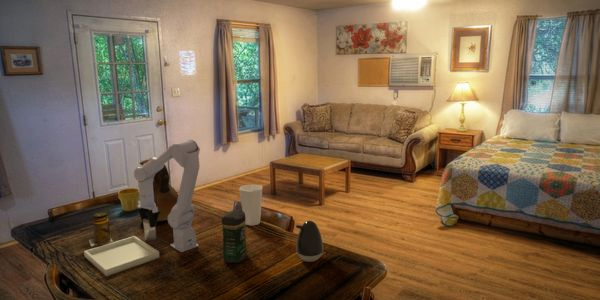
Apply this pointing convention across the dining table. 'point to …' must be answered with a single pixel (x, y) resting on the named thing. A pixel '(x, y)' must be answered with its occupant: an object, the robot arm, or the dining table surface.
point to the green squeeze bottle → (234, 236)
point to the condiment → (101, 229)
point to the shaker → (149, 230)
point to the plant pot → (129, 198)
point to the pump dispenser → (309, 242)
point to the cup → (251, 203)
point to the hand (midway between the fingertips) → (149, 224)
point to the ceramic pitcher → (163, 193)
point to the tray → (121, 255)
